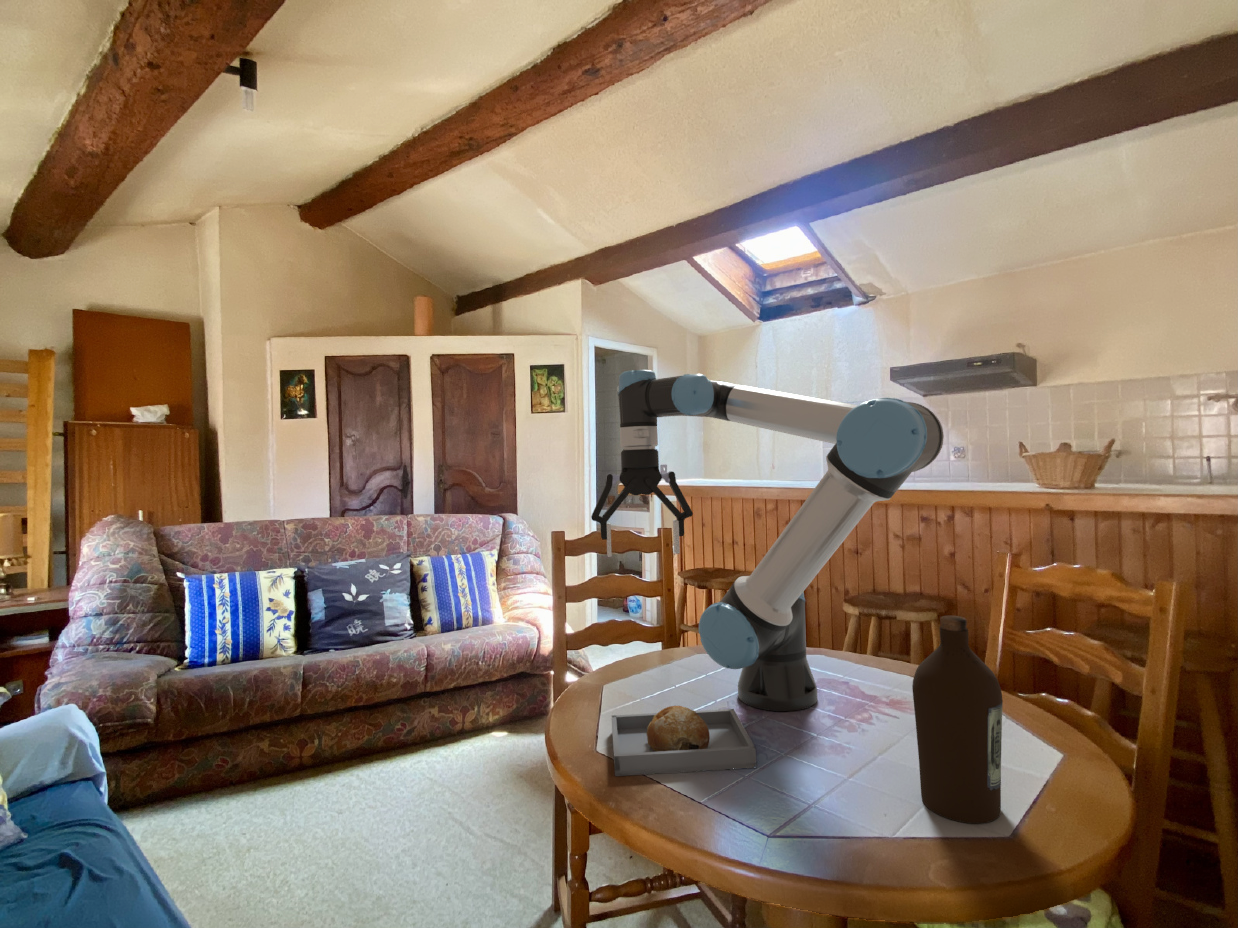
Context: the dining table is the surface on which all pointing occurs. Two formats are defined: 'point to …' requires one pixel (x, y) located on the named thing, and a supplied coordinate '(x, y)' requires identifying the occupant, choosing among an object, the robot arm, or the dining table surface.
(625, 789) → the dining table surface
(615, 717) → the tray
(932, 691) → the olive oil
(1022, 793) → the dining table surface
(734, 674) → the dining table surface
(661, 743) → the bread roll
